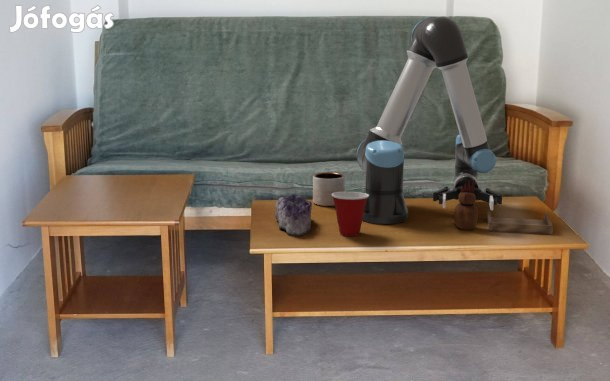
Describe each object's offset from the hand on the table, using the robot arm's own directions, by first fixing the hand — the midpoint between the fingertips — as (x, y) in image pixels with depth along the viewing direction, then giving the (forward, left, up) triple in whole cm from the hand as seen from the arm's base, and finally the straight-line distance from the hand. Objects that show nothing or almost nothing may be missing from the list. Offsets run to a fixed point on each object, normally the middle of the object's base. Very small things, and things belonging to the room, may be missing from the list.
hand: (467, 204), depth 202 cm
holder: (+15, +8, -8) cm, 19 cm away
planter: (-45, +25, -8) cm, 52 cm away
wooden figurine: (0, +3, -8) cm, 9 cm away
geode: (-50, -4, -8) cm, 51 cm away
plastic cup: (-33, -8, -8) cm, 35 cm away
